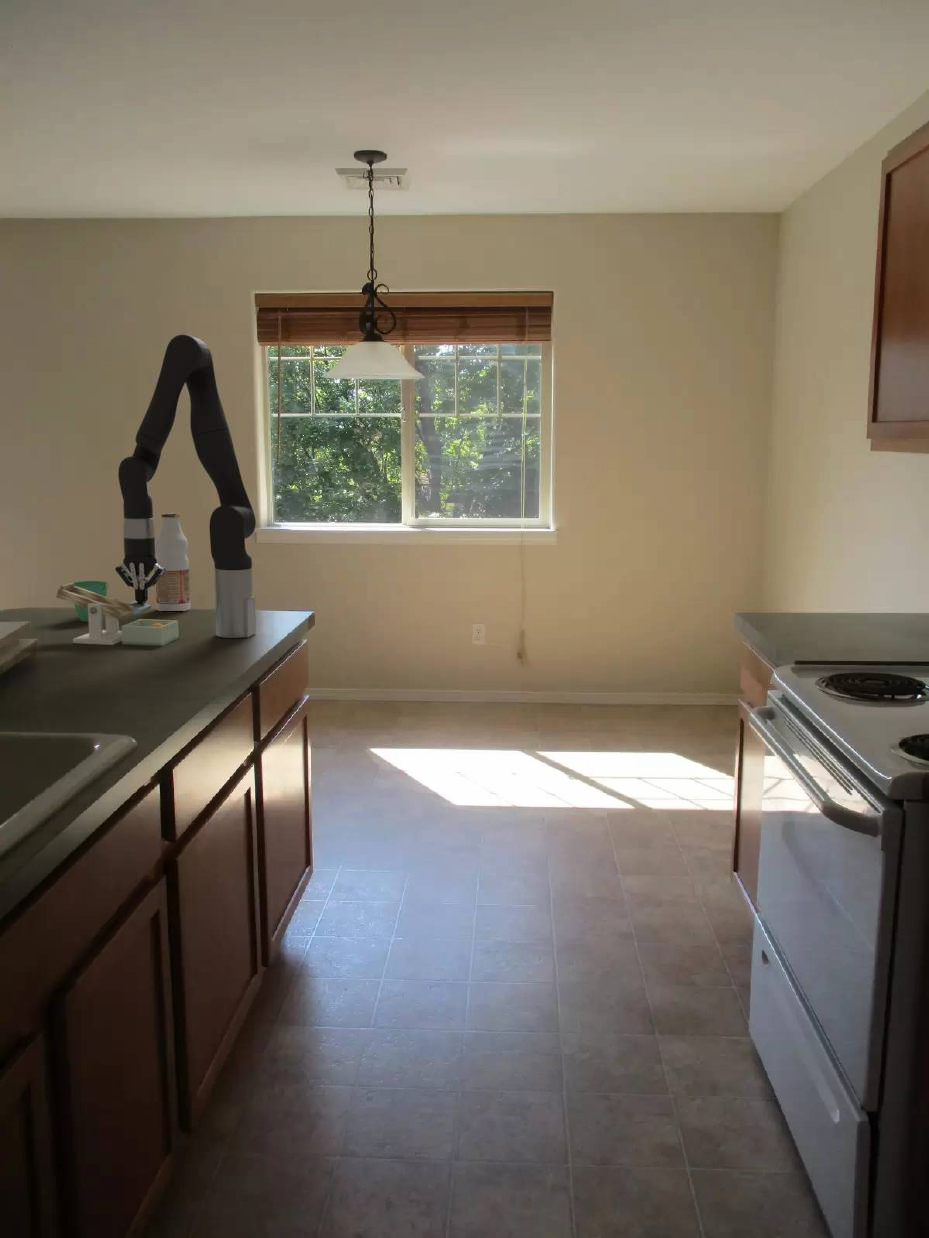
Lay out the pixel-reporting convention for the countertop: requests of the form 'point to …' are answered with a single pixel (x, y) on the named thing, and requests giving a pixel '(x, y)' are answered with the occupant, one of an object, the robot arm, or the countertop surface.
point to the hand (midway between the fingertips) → (141, 603)
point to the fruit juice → (172, 566)
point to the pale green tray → (149, 632)
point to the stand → (100, 628)
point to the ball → (156, 625)
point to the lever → (100, 601)
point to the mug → (91, 586)
